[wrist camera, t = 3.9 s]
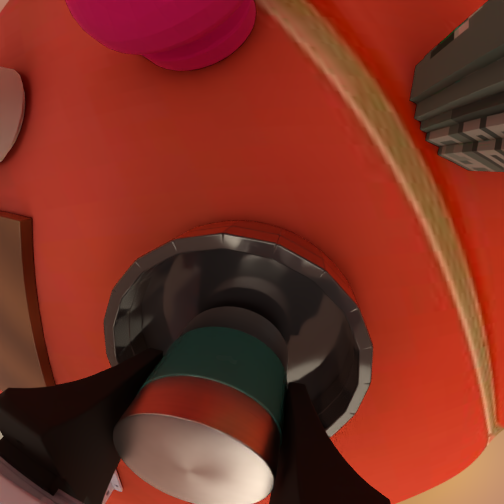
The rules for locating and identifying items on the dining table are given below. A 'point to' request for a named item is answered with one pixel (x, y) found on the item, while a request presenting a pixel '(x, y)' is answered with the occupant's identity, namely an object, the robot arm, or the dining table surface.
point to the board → (20, 309)
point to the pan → (250, 306)
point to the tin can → (211, 411)
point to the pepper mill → (168, 28)
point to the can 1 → (10, 108)
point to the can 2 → (466, 92)
